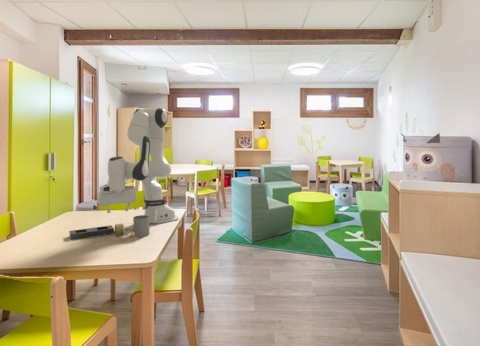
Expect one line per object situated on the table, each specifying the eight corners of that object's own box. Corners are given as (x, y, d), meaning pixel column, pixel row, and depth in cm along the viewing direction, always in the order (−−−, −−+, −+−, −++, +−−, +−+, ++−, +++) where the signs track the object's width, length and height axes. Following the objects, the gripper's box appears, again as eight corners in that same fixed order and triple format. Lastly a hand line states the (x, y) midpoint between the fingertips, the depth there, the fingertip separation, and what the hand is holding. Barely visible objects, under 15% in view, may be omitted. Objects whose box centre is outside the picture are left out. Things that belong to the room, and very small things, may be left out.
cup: (151, 232, 194) (150, 215, 193) (147, 236, 186) (147, 218, 185) (136, 232, 194) (135, 215, 193) (132, 236, 185) (131, 218, 184)
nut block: (122, 233, 191) (122, 223, 190) (124, 235, 188) (123, 225, 187) (115, 235, 189) (114, 224, 188) (116, 236, 186) (116, 226, 185)
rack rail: (111, 230, 199) (111, 225, 198) (114, 233, 192) (113, 228, 191) (69, 236, 188) (69, 230, 187) (70, 240, 181) (70, 234, 180)
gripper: (135, 184, 193) (135, 208, 194) (96, 187, 183) (97, 212, 184) (137, 186, 188) (138, 210, 189) (98, 188, 177) (99, 214, 179)
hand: (117, 211), depth 186 cm, fingers open, 8 cm apart
